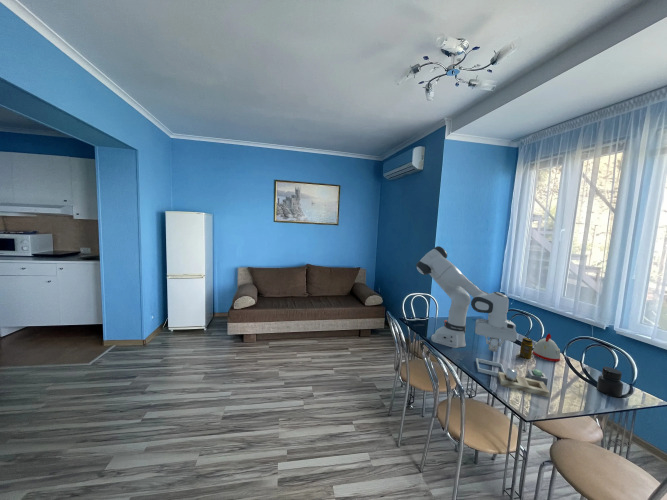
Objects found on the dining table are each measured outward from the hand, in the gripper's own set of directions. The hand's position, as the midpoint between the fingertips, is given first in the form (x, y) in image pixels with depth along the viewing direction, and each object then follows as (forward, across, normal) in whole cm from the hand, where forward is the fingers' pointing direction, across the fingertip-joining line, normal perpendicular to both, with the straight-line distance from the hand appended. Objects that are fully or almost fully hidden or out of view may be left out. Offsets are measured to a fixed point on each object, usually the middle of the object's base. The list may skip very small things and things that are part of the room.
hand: (493, 344), depth 152 cm
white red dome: (+15, +38, +38) cm, 56 cm away
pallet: (+15, +13, -12) cm, 23 cm away
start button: (+12, +22, -1) cm, 25 cm away
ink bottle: (+14, +54, +4) cm, 56 cm away
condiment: (+15, +24, +29) cm, 40 cm away
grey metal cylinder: (+3, 0, 0) cm, 3 cm away
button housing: (+14, +22, -1) cm, 26 cm away
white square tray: (+15, 0, -1) cm, 15 cm away
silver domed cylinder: (+14, +8, -12) cm, 20 cm away
